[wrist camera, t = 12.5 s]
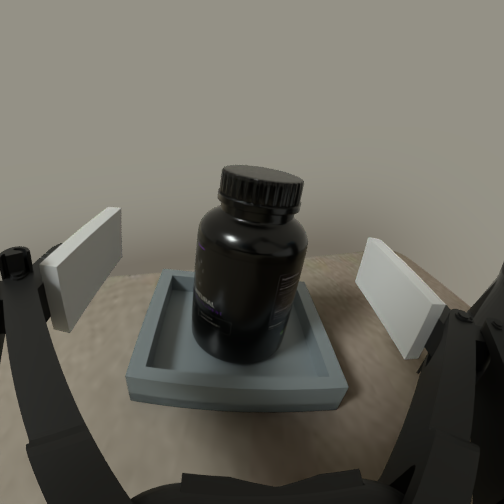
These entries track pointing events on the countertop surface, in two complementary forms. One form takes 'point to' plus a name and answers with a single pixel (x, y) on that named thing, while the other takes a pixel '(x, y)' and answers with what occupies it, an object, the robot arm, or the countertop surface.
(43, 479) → the robot arm
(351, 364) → the countertop surface
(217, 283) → the supplement bottle
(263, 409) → the tray
